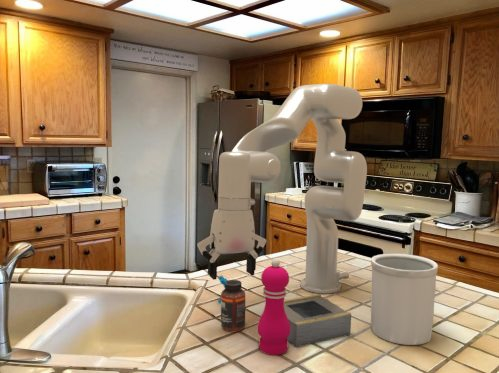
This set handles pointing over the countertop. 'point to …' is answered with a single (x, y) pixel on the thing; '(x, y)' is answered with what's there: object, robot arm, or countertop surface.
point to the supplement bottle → (233, 306)
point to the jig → (315, 320)
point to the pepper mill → (274, 311)
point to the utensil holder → (403, 298)
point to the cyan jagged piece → (222, 283)
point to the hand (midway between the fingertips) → (231, 275)
